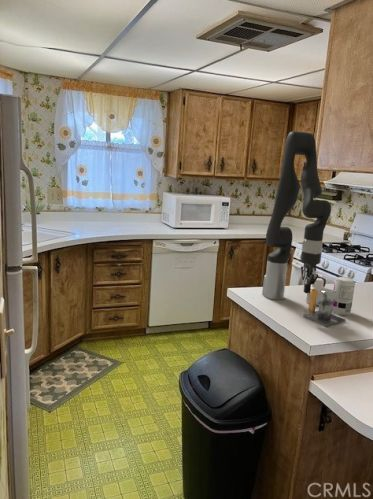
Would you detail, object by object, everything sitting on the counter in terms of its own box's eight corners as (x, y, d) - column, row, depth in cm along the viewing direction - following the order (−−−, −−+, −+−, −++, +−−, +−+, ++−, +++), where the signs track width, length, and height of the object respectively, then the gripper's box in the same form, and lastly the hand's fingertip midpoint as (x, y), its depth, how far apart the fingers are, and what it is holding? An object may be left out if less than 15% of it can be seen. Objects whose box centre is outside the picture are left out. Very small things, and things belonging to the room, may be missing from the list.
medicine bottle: (310, 298, 192) (313, 274, 189) (325, 302, 188) (328, 277, 186) (306, 303, 186) (309, 277, 183) (321, 306, 182) (325, 281, 180)
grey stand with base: (302, 316, 168) (305, 299, 167) (321, 312, 175) (323, 295, 174) (327, 327, 159) (329, 309, 157) (345, 321, 166) (348, 304, 164)
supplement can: (327, 311, 177) (331, 278, 173) (335, 307, 182) (340, 275, 179) (345, 317, 171) (350, 283, 168) (353, 312, 177) (358, 279, 173)
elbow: (323, 305, 170) (326, 283, 168) (337, 310, 165) (340, 288, 163) (302, 310, 163) (305, 288, 161) (315, 315, 158) (319, 292, 156)
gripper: (296, 246, 166) (292, 287, 170) (308, 254, 153) (303, 297, 157) (314, 247, 167) (309, 288, 170) (328, 254, 154) (322, 298, 157)
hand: (306, 292), depth 164 cm, fingers closed
